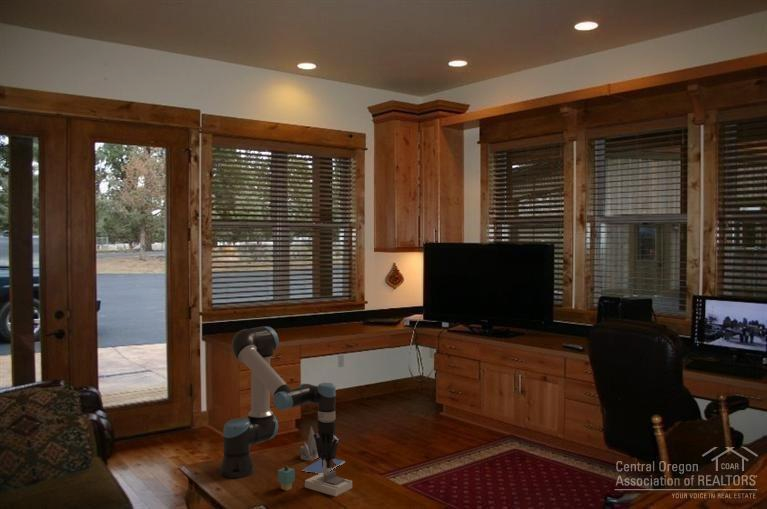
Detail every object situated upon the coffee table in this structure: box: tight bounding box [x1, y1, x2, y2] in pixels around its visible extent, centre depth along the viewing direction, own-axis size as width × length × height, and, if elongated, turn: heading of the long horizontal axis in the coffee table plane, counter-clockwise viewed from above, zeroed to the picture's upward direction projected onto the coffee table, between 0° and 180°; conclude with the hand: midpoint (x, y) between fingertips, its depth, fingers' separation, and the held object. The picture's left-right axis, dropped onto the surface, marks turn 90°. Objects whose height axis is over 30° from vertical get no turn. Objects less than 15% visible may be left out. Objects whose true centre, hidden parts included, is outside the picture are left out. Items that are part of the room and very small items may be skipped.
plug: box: [277, 465, 296, 491], centre depth 272 cm, size 5×5×10 cm
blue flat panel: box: [301, 458, 346, 474], centre depth 299 cm, size 19×13×1 cm, turn 154°
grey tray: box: [304, 473, 353, 497], centre depth 273 cm, size 17×11×4 cm, turn 55°
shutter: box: [324, 469, 346, 486], centre depth 271 cm, size 6×6×3 cm
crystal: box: [299, 426, 320, 461], centre depth 311 cm, size 10×13×15 cm
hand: (326, 474), depth 274 cm, fingers closed
